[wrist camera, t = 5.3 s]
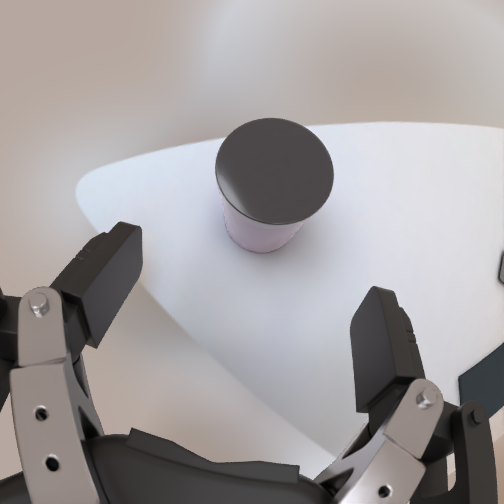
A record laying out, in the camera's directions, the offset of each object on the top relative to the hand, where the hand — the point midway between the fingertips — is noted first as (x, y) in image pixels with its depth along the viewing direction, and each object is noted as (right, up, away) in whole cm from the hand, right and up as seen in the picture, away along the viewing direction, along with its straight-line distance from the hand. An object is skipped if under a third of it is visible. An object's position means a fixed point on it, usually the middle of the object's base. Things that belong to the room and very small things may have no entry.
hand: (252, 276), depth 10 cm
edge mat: (+24, -12, +9) cm, 28 cm away
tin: (+1, +3, +10) cm, 10 cm away
